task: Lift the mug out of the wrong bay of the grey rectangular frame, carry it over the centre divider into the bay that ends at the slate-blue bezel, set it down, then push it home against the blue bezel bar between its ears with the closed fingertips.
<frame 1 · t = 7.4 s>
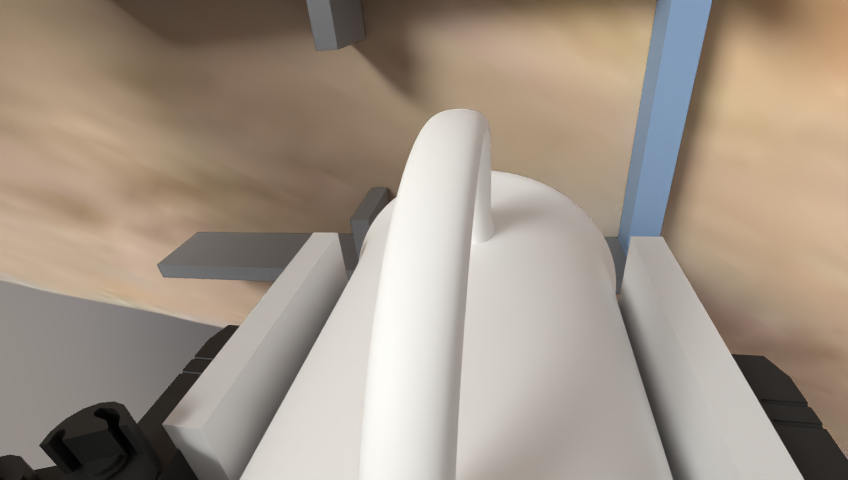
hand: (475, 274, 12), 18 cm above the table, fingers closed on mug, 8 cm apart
blue bezel: (655, 107, 25), on the table
mug: (486, 241, 14), point 16 cm above the table, touching gripper
grey rectangular frame: (369, 119, 29), on the table
when the fingers open (3 cm above the table, at t = 10.4 s): mug drops 1 cm, on the table.
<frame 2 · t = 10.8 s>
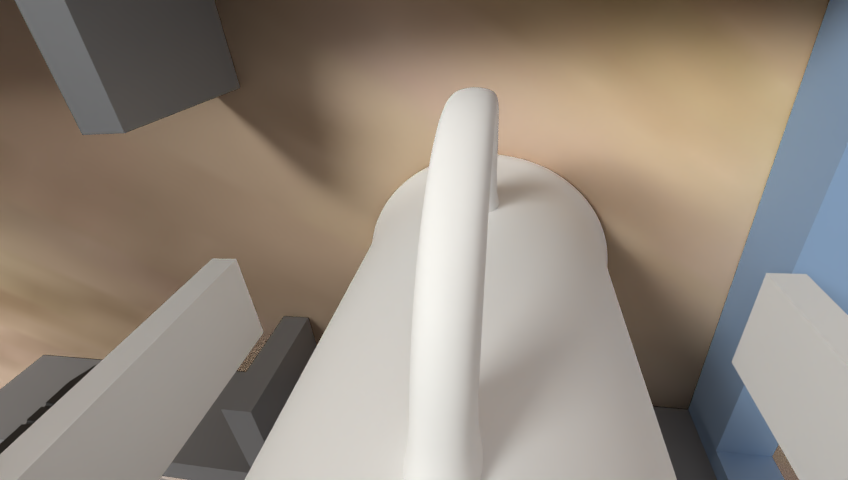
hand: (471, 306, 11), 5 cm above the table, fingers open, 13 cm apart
blue bezel: (785, 223, 13), on the table
mug: (490, 221, 15), on the table
grey rectangular frame: (265, 220, 17), on the table
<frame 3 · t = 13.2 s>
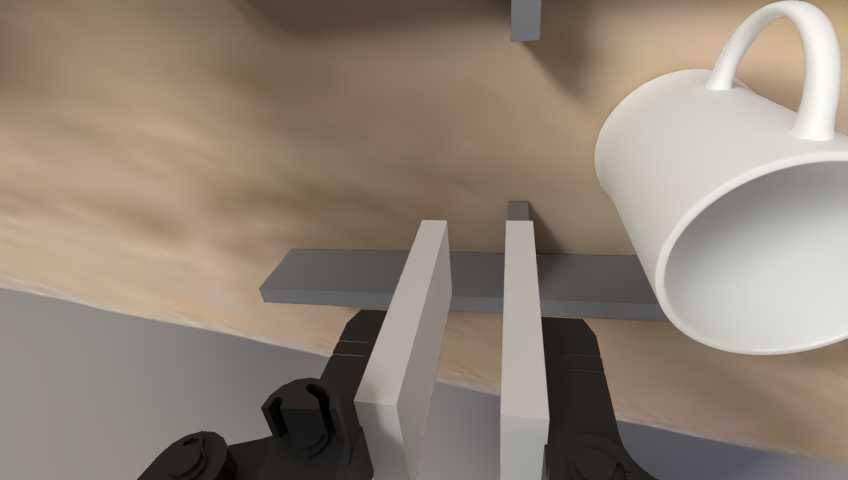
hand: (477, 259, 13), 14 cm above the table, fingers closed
mug: (683, 118, 23), on the table
grey rectangular frame: (520, 124, 25), on the table
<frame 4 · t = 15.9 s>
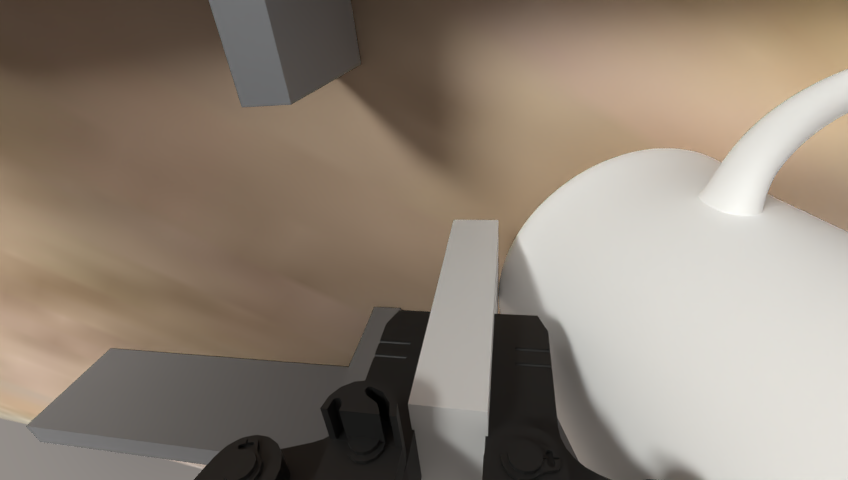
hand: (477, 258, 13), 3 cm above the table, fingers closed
mug: (631, 225, 13), point 1 cm above the table, touching gripper, hand
grey rectangular frame: (368, 205, 16), on the table
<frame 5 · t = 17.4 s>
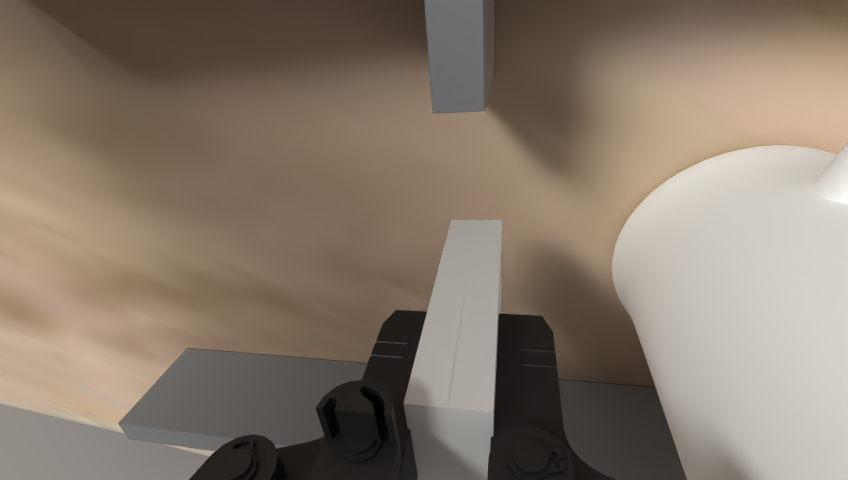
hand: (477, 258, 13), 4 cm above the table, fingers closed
mug: (753, 215, 15), on the table
grey rectangular frame: (479, 210, 17), on the table
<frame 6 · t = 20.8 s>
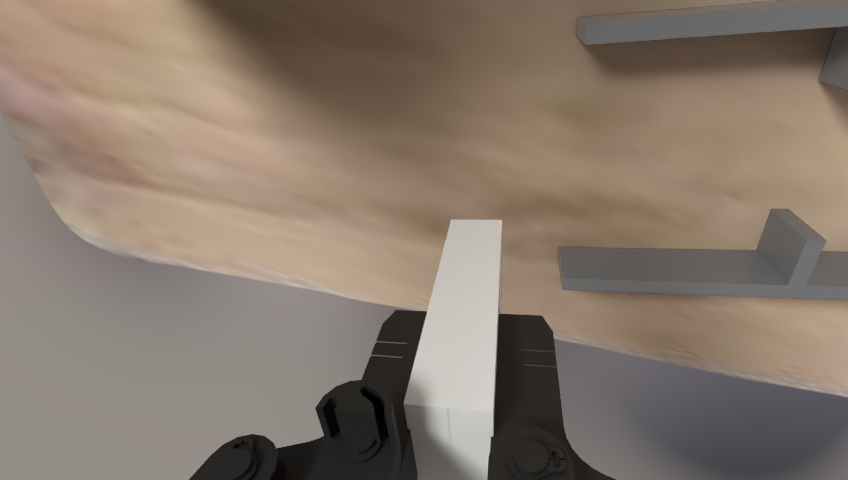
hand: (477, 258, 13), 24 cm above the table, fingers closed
grey rectangular frame: (802, 149, 32), on the table
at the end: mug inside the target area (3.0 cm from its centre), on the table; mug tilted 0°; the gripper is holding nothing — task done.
